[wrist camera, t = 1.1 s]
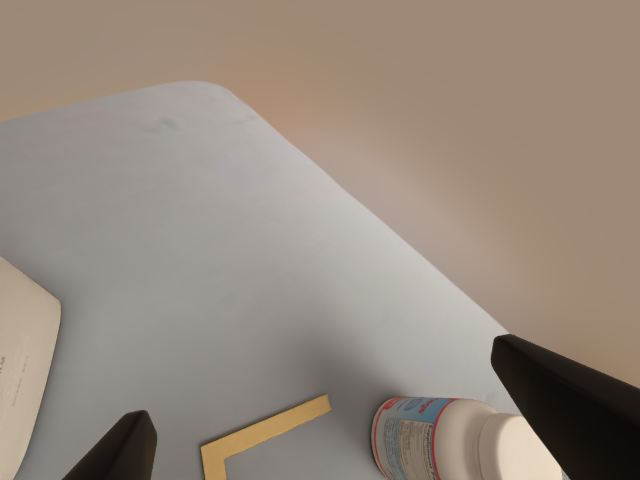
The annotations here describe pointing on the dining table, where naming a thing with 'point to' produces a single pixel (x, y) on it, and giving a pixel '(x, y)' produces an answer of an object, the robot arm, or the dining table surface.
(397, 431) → the pill bottle
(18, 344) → the photo printer
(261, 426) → the tape outline
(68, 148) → the dining table surface
